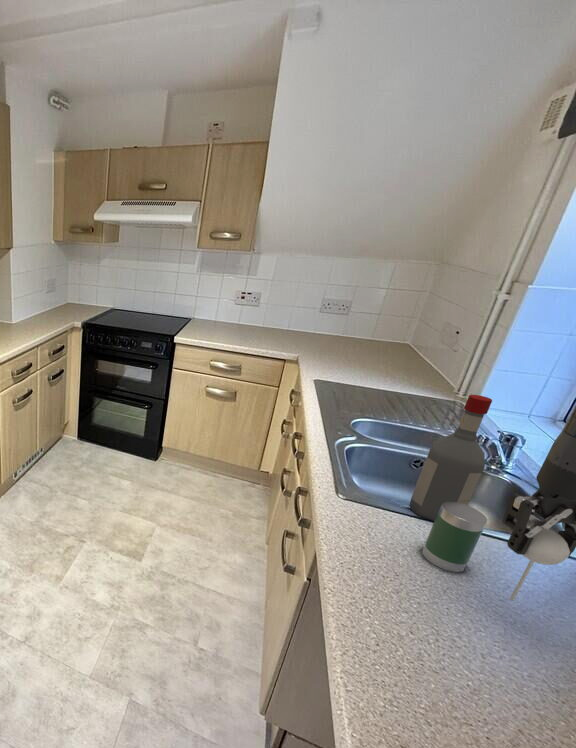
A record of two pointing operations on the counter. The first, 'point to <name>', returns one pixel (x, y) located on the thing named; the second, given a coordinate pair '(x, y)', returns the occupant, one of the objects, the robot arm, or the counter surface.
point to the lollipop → (544, 552)
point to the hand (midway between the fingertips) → (537, 551)
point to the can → (454, 536)
